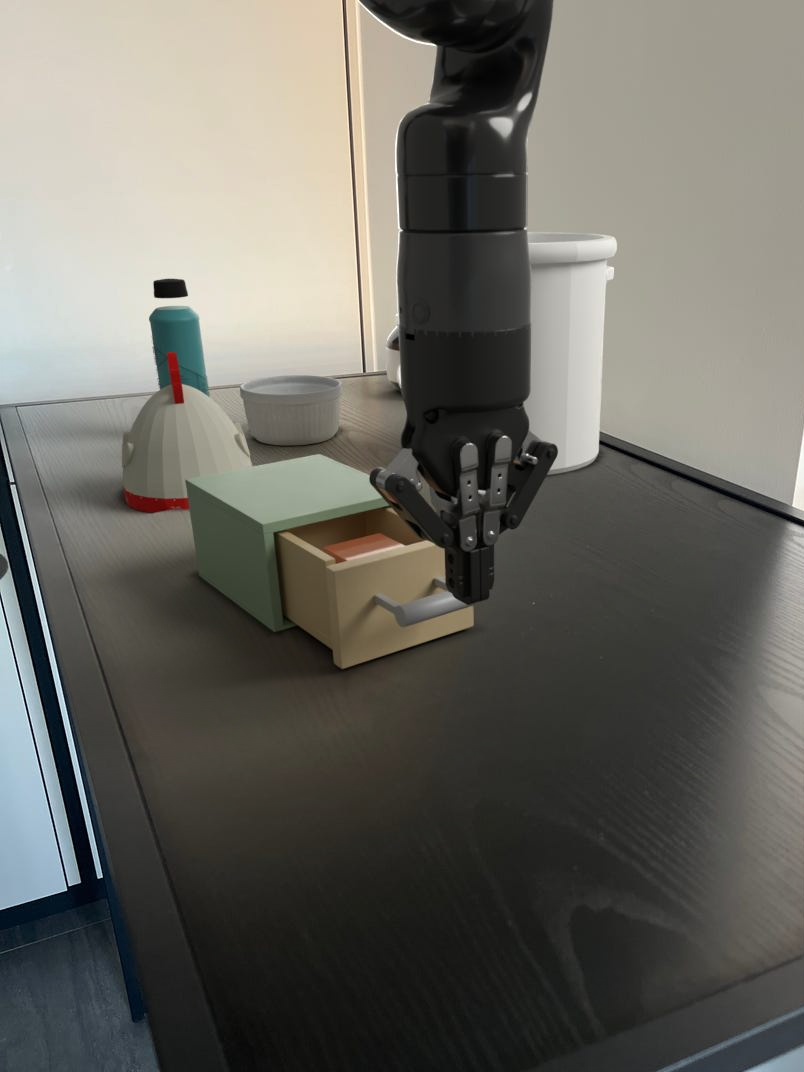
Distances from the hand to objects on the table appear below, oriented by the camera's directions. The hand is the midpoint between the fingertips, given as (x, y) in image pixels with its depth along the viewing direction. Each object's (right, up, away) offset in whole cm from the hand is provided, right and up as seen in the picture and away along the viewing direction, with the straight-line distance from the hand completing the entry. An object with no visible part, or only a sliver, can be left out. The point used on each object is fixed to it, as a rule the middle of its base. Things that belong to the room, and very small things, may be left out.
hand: (469, 598), depth 62 cm
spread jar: (-9, +37, +93) cm, 100 cm away
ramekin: (-24, +24, +68) cm, 76 cm away
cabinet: (-14, +2, +20) cm, 25 cm away
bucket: (+5, +19, +57) cm, 61 cm away
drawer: (-7, -2, +11) cm, 13 cm away
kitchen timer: (-31, +13, +45) cm, 56 cm away
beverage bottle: (-38, +25, +68) cm, 82 cm away
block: (-7, -1, +11) cm, 13 cm away
